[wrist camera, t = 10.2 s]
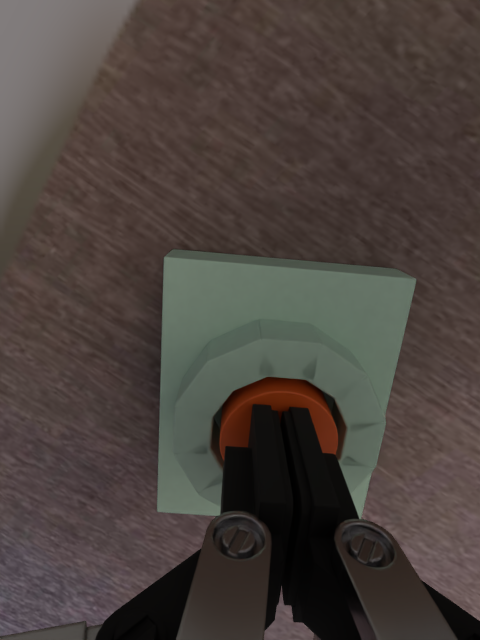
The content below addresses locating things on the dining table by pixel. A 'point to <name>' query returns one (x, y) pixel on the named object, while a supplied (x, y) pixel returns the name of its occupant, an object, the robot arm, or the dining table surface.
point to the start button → (280, 398)
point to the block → (272, 358)
